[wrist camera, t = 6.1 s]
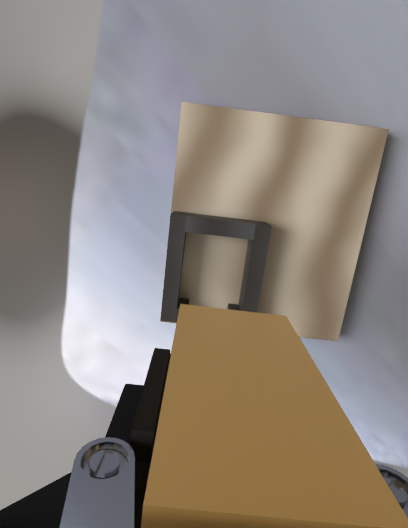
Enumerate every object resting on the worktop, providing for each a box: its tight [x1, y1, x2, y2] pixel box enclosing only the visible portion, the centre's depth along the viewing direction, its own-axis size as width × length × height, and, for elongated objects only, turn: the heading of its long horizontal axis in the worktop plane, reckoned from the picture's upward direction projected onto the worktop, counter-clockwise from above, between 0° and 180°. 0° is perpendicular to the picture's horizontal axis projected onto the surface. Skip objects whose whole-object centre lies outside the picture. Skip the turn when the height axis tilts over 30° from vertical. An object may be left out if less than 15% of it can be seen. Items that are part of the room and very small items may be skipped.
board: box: [161, 102, 389, 341], centre depth 28 cm, size 16×18×4 cm
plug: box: [141, 304, 408, 528], centre depth 9 cm, size 4×6×8 cm
